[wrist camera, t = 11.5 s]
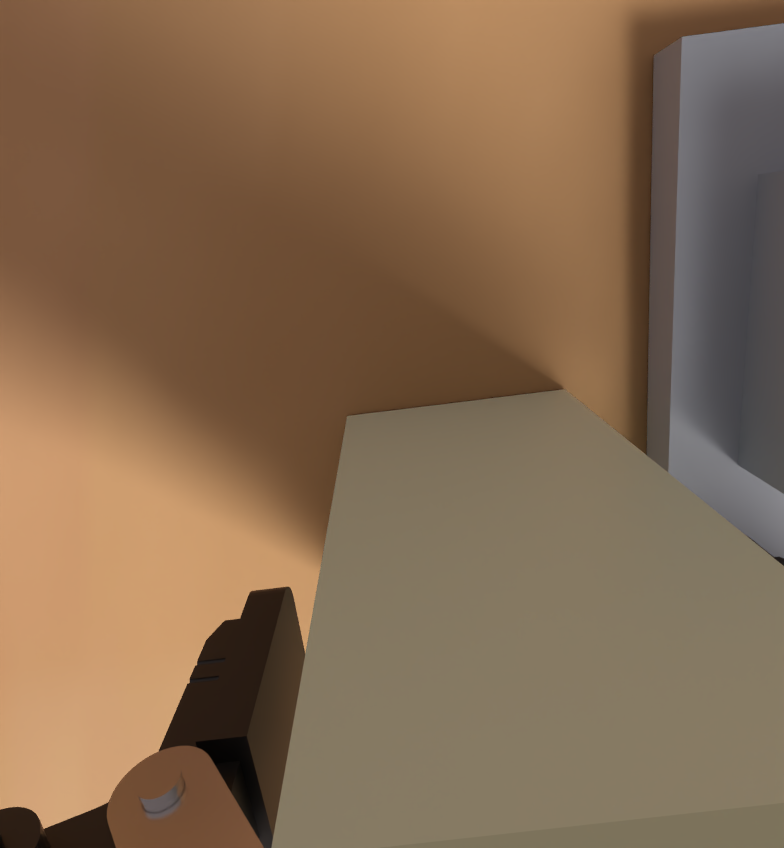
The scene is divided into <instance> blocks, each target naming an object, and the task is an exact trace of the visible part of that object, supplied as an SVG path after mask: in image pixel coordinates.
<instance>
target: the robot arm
mask: <svg viewBox="0 0 784 848" xmlns="http://www.w3.org/2000/svg"><path fill="white" fill-rule="evenodd" d="M746 536H747V535H746ZM747 537H748V536H747ZM748 538H750V537H748ZM750 539H751V538H750ZM751 540H752V539H751ZM752 541H753V542H755V541H754V540H752ZM755 543H756V542H755ZM756 544H757V543H756ZM757 545H758V544H757ZM758 546H760V545H758ZM760 547H761V546H760ZM761 548H762V547H761ZM762 549H763V548H762ZM763 550H765V549H763ZM765 551H766V550H765ZM766 552H767V551H766ZM767 553H768V552H767ZM768 554H770V553H768ZM770 555H771V554H770ZM771 556H772V555H771ZM772 557H773V556H772ZM773 558H774V559H776V560H777V561H778V562H779V563H781V564H782V565H783V566H784V558H782V557H773ZM304 659H305V651H304V646H303V641H302V636H301V631H300V627H299V622H298V617H297V612H296V607H295V602H294V597H293V594H292V591H291V589H290V587H281V588H273V589H264V590H256V591H251V592H250V594H249V596H248V599H247V601H246V604H245V607H244V610H243V612H242V615H241V618H240V619H235V620H226V621H224V622H223V623H222V624H221V625H220V626H219V627H218V628H217V629H216V630H215V632H214V633H213V634H212V635H211V636H210V637H209V638H208V639H207V640H206V642H205V644H204V647H203V649H202V651H201V654H200V656H199V658H198V661H197V665H196V666H195V668H194V670H193V672H192V675H191V677H190V683H189V684H187V686H186V689H185V691H184V693H183V696H182V698H181V700H180V703H179V705H178V707H177V710H176V712H175V714H174V717H173V719H172V721H171V724H170V726H169V728H168V731H167V733H166V735H165V738H164V740H163V742H162V745H161V747H160V749H159V752H157V753H155V754H153V755H151V756H149V757H147V758H146V759H144V760H143V761H141V762H140V763H138V764H137V765H136V766H135V767H133V768H132V769H131V770H130V771H129V772H128V773H127V774H126V775H125V776H124V777H123V779H122V780H121V781H120V782H119V784H118V785H117V787H116V788H115V790H114V791H113V793H112V796H111V798H110V800H109V802H108V803H106V804H104V805H102V806H100V807H98V808H96V809H93V810H91V811H88V812H86V813H83V814H81V815H78V816H75V817H73V818H70V819H68V820H65V821H63V822H60V823H58V824H55V825H53V826H50V827H48V828H45V829H43V827H42V825H41V822H40V820H39V818H38V816H37V815H36V813H34V812H33V811H32V810H30V809H27V808H22V807H12V808H6V809H1V810H0V848H271V847H272V841H273V836H274V830H275V824H276V819H277V813H278V807H279V801H280V796H281V790H282V784H283V779H284V773H285V767H286V762H287V756H288V750H289V744H290V739H291V733H292V727H293V722H294V716H295V710H296V705H297V699H298V693H299V687H300V682H301V676H302V670H303V665H304Z"/></svg>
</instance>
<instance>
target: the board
mask: <svg viewBox="0 0 784 848" xmlns="http://www.w3.org/2000/svg"><path fill="white" fill-rule="evenodd" d="M647 456H648V457H649V458H651V459H652V460H653V461H654V462H656V463H657V464H658V465H659V466H661V467H662V468H663V469H664V470H666V471H667V472H668V473H669V474H671V475H672V476H673V477H674V478H675V479H677V480H678V481H679V482H680V483H682V484H683V485H684V486H685V487H687V488H688V489H689V490H690V491H692V492H693V493H694V494H695V495H697V496H698V497H699V498H700V499H701V500H703V501H704V502H705V503H706V504H708V505H709V506H710V507H711V508H713V509H714V510H715V511H716V512H718V513H719V514H720V515H721V516H723V517H724V518H725V519H726V520H727V521H729V522H730V523H731V524H732V525H734V526H735V527H736V528H737V529H739V530H740V531H741V532H742V533H744V534H745V535H747V536H748V537H750V538H751V539H752V540H754V541H755V542H756V543H757V544H758V545H760V546H761V547H762V548H763V549H765V550H766V551H767V552H768V553H770V554H771V555H772V556H773V557H782V558H784V23H782V24H774V25H767V26H759V27H752V28H744V29H737V30H729V31H722V32H714V33H707V34H699V35H691V36H684V37H681V38H679V39H678V40H676V41H675V42H673V43H672V44H670V45H669V46H667V47H666V48H664V49H663V50H661V51H660V52H658V53H657V54H655V55H654V72H653V127H652V183H651V238H650V293H649V348H648V403H647Z"/></svg>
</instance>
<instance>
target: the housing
mask: <svg viewBox="0 0 784 848" xmlns="http://www.w3.org/2000/svg"><path fill="white" fill-rule="evenodd" d="M271 848H784V566H783V565H782V564H781V563H779V562H778V561H777V560H776V559H774V558H773V557H772V556H771V555H770V554H768V553H767V552H766V551H765V550H763V549H762V548H761V547H760V546H758V545H757V544H756V543H755V542H753V541H752V540H751V539H750V538H748V537H747V536H746V535H745V534H744V533H742V532H741V531H740V530H739V529H737V528H736V527H735V526H734V525H732V524H731V523H730V522H729V521H727V520H726V519H725V518H724V517H723V516H721V515H720V514H719V513H718V512H716V511H715V510H714V509H713V508H711V507H710V506H709V505H708V504H706V503H705V502H704V501H703V500H701V499H700V498H699V497H698V496H697V495H695V494H694V493H693V492H692V491H690V490H689V489H688V488H687V487H685V486H684V485H683V484H682V483H680V482H679V481H678V480H677V479H675V478H674V477H673V476H672V475H671V474H669V473H668V472H667V471H666V470H664V469H663V468H662V467H661V466H659V465H658V464H657V463H656V462H654V461H653V460H652V459H651V458H649V457H648V456H647V455H646V454H645V453H643V452H642V451H641V450H640V449H638V448H637V447H636V446H635V445H633V444H632V443H631V442H630V441H628V440H627V439H626V438H625V437H624V436H622V435H621V434H620V433H619V432H617V431H616V430H615V429H614V428H612V427H611V426H610V425H609V424H607V423H606V422H605V421H604V420H602V419H601V418H600V417H599V416H598V415H596V414H595V413H594V412H593V411H591V410H590V409H589V408H588V407H586V406H585V405H584V404H583V403H581V402H580V401H579V400H578V399H576V398H575V397H574V396H573V395H572V394H570V393H569V392H568V391H567V390H565V389H562V390H554V391H546V392H538V393H530V394H522V395H513V396H505V397H497V398H489V399H481V400H473V401H465V402H457V403H449V404H440V405H432V406H424V407H416V408H408V409H400V410H392V411H384V412H375V413H367V414H359V415H351V416H347V420H346V425H345V431H344V437H343V442H342V448H341V454H340V459H339V465H338V471H337V477H336V482H335V488H334V494H333V499H332V505H331V511H330V516H329V522H328V528H327V534H326V539H325V545H324V551H323V556H322V562H321V568H320V573H319V579H318V585H317V591H316V596H315V602H314V608H313V613H312V619H311V625H310V630H309V636H308V642H307V648H306V653H305V659H304V665H303V670H302V676H301V682H300V687H299V693H298V699H297V705H296V710H295V716H294V722H293V727H292V733H291V739H290V744H289V750H288V756H287V762H286V767H285V773H284V779H283V784H282V790H281V796H280V801H279V807H278V813H277V819H276V824H275V830H274V836H273V841H272V847H271Z"/></svg>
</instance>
